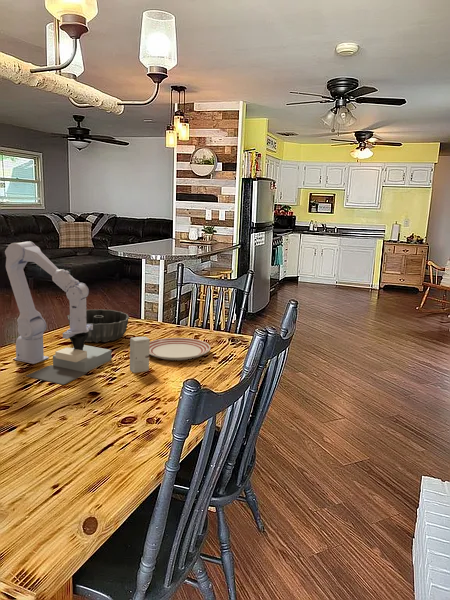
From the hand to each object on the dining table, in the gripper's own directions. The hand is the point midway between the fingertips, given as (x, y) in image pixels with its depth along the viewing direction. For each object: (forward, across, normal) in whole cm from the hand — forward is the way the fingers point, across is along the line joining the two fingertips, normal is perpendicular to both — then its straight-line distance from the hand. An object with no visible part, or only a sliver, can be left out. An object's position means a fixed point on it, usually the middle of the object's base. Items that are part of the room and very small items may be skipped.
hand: (78, 352), depth 171 cm
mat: (+5, -12, 0) cm, 13 cm away
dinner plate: (+5, +30, -25) cm, 40 cm away
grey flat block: (+5, +2, 0) cm, 5 cm away
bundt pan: (+5, +32, +15) cm, 36 cm away
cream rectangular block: (+1, -4, 0) cm, 4 cm away
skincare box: (+5, +6, -22) cm, 23 cm away
